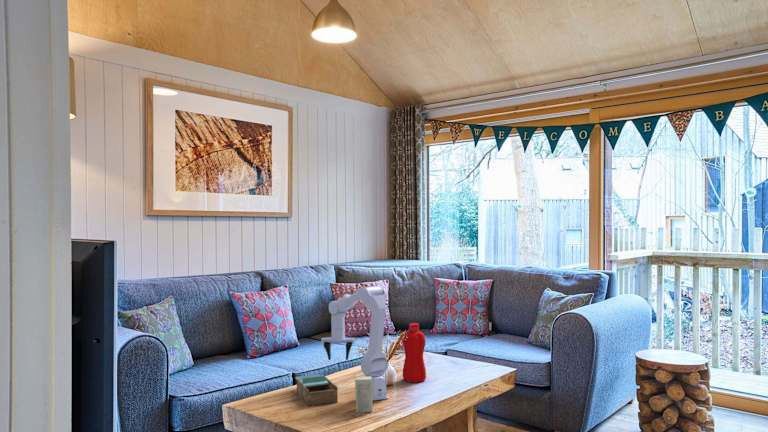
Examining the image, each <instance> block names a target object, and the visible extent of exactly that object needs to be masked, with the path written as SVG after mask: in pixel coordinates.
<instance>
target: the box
mask: <svg viewBox="0 0 768 432" xmlns="http://www.w3.org/2000/svg"><path fill="white" fill-rule="evenodd" d="M325 380H326V381H328V382H329V384H326V385H319V386H311V387H305V386H304V385H303V384H302V383H301V382H300V381H299V380H296V396H297V397H298V398H299V397H300V398H301V399H302V400H303V401H302V400H301V399H300V398H299V399H300V400H301V401H302V402H303V403H304V404H305V405H306V406H307V407H312V405H315V406H321V405H327V404H334V403H335V404H336V403H338V386H337V385H336V384H335V383H333V382H332V380H330V379H329V378H328V377H326V376H325Z"/></svg>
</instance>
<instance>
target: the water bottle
mask: <svg viewBox="0 0 768 432" xmlns="http://www.w3.org/2000/svg"><path fill="white" fill-rule="evenodd" d="M404 334H405V337H404V338H405V339H407V340H406V341H405V340H404V339H403V338H402V343H401V347H403V350H404V353H402V355H405V356H404V357H405V358H404V363H403V368H402V378H403V380H405V381H407V382H408V383H419V382H423V381H425V380H426V379H427V370H426V369H427V368H426V364H425V361H424V351H425V346H426V341H427V340H426V335H425V334H424V332H422V331H420V323H417V322H411V323H409V324H408V330H407V331H405V332H404ZM406 335H407V337H408V338H406Z"/></svg>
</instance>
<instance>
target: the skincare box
mask: <svg viewBox="0 0 768 432" xmlns="http://www.w3.org/2000/svg"><path fill="white" fill-rule="evenodd" d="M354 381H355V382H354V383H355V385H354V388H355V411H356V413H369V412H371V413H372V412H373V410H374V406H373V401H372V377H371V376H366V377H365V376H356V377H355V379H354Z"/></svg>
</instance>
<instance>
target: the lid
mask: <svg viewBox="0 0 768 432" xmlns="http://www.w3.org/2000/svg"><path fill="white" fill-rule="evenodd" d="M325 377H326V375H324V374H320V373H316V374H306V375H299V376H298V375H297V376H295V380H296V381H297V380H299V381H300V382H301V383H302V384H303V385H304V386H305V387H311V386H319V385H326V384H329V382H328V381H326V380H325Z"/></svg>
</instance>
